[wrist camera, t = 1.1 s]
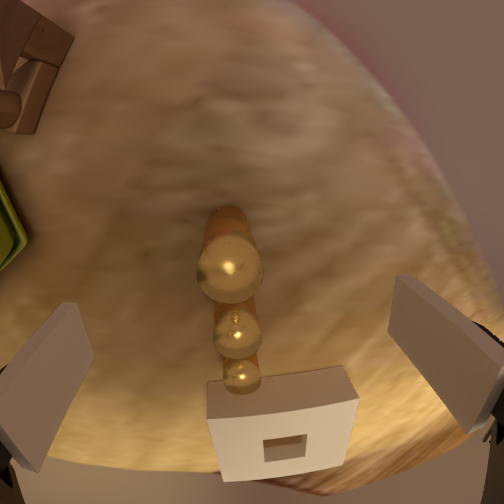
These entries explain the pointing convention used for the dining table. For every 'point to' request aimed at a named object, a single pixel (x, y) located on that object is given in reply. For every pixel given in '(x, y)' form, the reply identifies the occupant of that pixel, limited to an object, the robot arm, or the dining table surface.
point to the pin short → (241, 375)
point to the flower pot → (9, 231)
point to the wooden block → (27, 64)
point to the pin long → (229, 257)
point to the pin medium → (236, 329)
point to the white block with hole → (282, 424)
